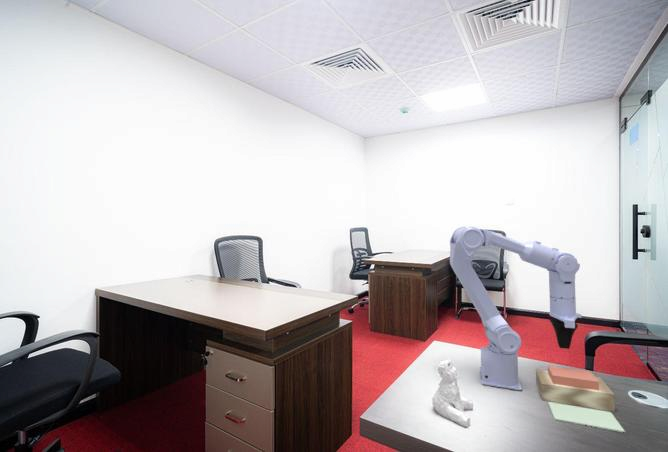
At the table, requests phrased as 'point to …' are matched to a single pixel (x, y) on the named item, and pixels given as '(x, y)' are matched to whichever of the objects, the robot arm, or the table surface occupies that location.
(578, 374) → the salmon pink block
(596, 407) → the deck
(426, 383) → the table surface
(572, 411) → the mat
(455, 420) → the seated beast figurine
